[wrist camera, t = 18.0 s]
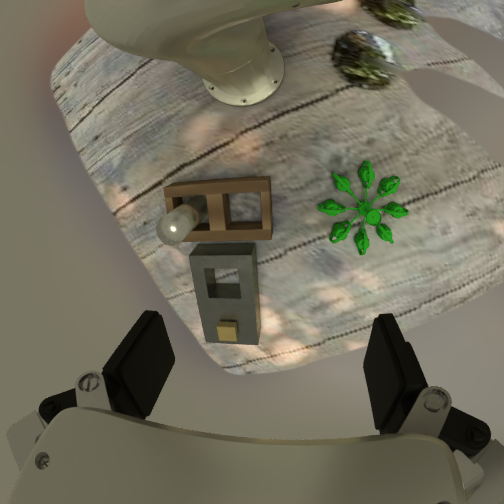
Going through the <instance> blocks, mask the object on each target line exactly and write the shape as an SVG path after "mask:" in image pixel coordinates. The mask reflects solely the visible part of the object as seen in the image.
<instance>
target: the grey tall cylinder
mask: <svg viewBox="0 0 504 504" xmlns="http://www.w3.org/2000/svg"><path fill="white" fill-rule="evenodd" d="M207 215H208V207H207V199H206V198H205V197H204V196H200V195H197V196H194V197H192V198H190V199H189V200H187V201H186V202H184V203H183V204H181V205H180V206H178V207H177V208H175V209H174V210H172V211H171V212H169V213H168V214H166V215H165V216H163V217H162V218H161V219H160V220H159V221H158V223H157V226H156V232H157V235H158V237H159V239H160V240H161V241H162V242H163V243H165V244H167V245H171V246H174V245H178V244H179V243H181V242H182V241H183V239H184V238H185V237H186V236H187V235H188V234H189V233H190V232H191V231H192V230H193V229H194V228H195V227H196V226H197V225H198V224H199V223H200V222H201V221H202V220H203V219H204V218H205V217H206V216H207Z"/></svg>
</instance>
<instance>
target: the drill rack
mask: <svg viewBox="0 0 504 504" xmlns="http://www.w3.org/2000/svg"><path fill="white" fill-rule="evenodd" d="M246 192H261V208H262V221H260V222H231V217H230V207H229V196H228V193H246ZM164 195H165V202H166V209H167V214H168V213H169V212H171V211H172V210H174V209H175V208H177V207H178V206H180V205H181V204H183V201H182V197H184V196H196V195H206V198H207V207H208V215H209V223H201V224H198V225H197V226H196V227H195V228H194V229H193V230H192V231H191V232H190V233H189V234H188V235H187V236H186V237H185V238H184V239H183V241H182V242H195V241H242V240H271V239H272V234H273V221H272V200H271V181H270V176H260V177H241V178H225V179H212V180H200V181H189V182H179V183H173V184H170V185H168V186H166V187H164Z"/></svg>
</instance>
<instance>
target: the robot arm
mask: <svg viewBox="0 0 504 504" xmlns="http://www.w3.org/2000/svg"><path fill="white" fill-rule="evenodd" d="M338 1H342V0H85V1H84V5H85V13H86V17H87V19H88V21H89V24H90V25H91V27H92V28H93V29H94V31H95V32H96V33H97V34H98V35H99V36H100V37H101V38H102V39H103V40H105V41H106V42H107V43H109V44H110V45H112V46H114V47H116V48H118V49H120V50H122V51H124V52H127V53H130V54H133V55H137V56H141V57H145V58H152V59H160V60H169V61H174V62H177V63H179V64H181V65H182V66H184V67H186V68H187V69H189V70H191V71H192V72H194V73H195V74H197V75H199V76H200V77H202V81H203V83H204V86H205V88H206V89H207V91H208V92H209V93H210V94H211V95H212V96H213V97H214V98H216V99H217V100H219V101H221V102H223V103H225V104H228V105H231V106H239V107H241V106H251V105H255V104H258V103H260V102H263V101H264V100H266V99H268V98H269V97H270V96H271V95H273V94H274V93H275V92H276V90H277V89H278V88H279V86H280V84H281V82H282V80H283V77H284V60H283V57H282V55H281V53H280V51H279V50H278V48H277V47H276V46H275V45H274V44H273V43H272V42H270V41H269V40H268V38H267V34H266V30H265V25H264V21H263V18H262V16H266V15H270V14H274V13H279V12H283V11H288V10H293V9H298V8H304V7H310V6H315V5H322V4H328V3H334V2H338ZM272 50H274V52H271V51H272ZM275 81H277V84H274V82H275ZM213 87H214V90H212V88H213ZM244 100H246V103H244V102H243V101H244ZM174 363H175V356H174V352H173V350H172V347H171V343H170V340H169V337H168V334H167V331H166V328H165V324H164V321H163V318H162V316H161V315H159V313H158V312H157V311H148V310H146V311H144V313H143V314H142V315H141V316H140V318H139V319H138V320H137V322H136V323H135V324H134V326H133V327H132V328H131V330H130V331H129V332H128V334H127V335H126V337H125V338H124V339H123V340H122V342H121V343H120V345H119V346H118V348H117V349H116V350H115V352H114V353H113V354H112V356H111V357H110V359H109V360H108V361H107V363H106V364H105V366H104V367H103V372H102V373H100V372H97V371H88V372H85V373H83V374H82V375H81V376H79V378H78V379H77V381H76V384H75V388H74V389H71V390H68V391H66V392H63V393H60V394H57V395H54V396H51V397H48V398H46V399H45V400H43V401H42V403H41V404H40V406H39V412H37V411H34V412H32V413H31V414H29V415H27V416H26V417H24V418H23V419H21V420H19V421H18V422H16V423H15V424H13V425H12V426H10V427H9V429H8V432H7V439H8V442H9V444H10V447H11V449H12V452H13V455H14V457H15V460H16V462H17V465H18V467H19V469H20V474H19V476H18V478H17V480H16V482H15V485H14V487H13V489H12V492H11V494H10V497H9V499H8V501H7V504H499V503H500V502H501V501H502V500H503V498H504V446H503V445H502V444H501V443H500V442H499V441H497V440H496V439H494V440H492V439H491V431H490V428H489V426H488V425H487V424H486V423H484V422H483V421H481V420H479V419H477V418H475V417H473V416H471V415H469V414H466V413H465V412H462V411H460V410H458V409H456V408H454V407H452V406H451V404H452V400H451V397H450V395H449V393H448V392H447V391H446V390H445V389H443V388H441V387H438V386H431V387H428V384H427V382H426V379H425V377H424V374H423V372H422V369H421V367H420V365H419V362H418V360H417V357H416V355H415V353H414V350H413V348H412V346H411V344H410V343H409V342H405V340H404V337H403V335H402V333H401V331H400V328H399V326H398V324H397V322H396V320H395V318H394V316H393V314H392V313H388V314H379V316H378V318H375V319H374V322H373V327H372V331H371V335H370V339H369V343H368V347H367V351H366V355H365V359H364V363H363V368H364V373H365V378H366V383H367V387H368V392H369V397H370V402H371V407H372V412H373V418H374V423H375V428H376V430H379V431H380V435H371V436H362V437H352V438H337V439H316V440H283V439H260V438H246V437H236V436H227V435H219V434H212V433H206V432H199V431H194V430H188V429H183V428H177V427H173V426H168V425H164V424H159V423H155V422H151V421H147V420H145V418H146V416H149V415H150V414H151V412H152V409H153V407H154V405H155V403H156V401H157V399H158V397H159V394H160V392H161V390H162V388H163V386H164V384H165V382H166V380H167V377H168V375H169V373H170V371H171V369H172V367H173V365H174ZM462 482H463V483H462ZM463 484H464V488H465V490H464V488H463Z"/></svg>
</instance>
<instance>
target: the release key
mask: <svg viewBox="0 0 504 504" xmlns="http://www.w3.org/2000/svg"><path fill="white" fill-rule="evenodd" d="M217 331H218V337H219V340H220V341H237V339H238V329H237V322H222V321H219V322H218V324H217Z"/></svg>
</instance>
